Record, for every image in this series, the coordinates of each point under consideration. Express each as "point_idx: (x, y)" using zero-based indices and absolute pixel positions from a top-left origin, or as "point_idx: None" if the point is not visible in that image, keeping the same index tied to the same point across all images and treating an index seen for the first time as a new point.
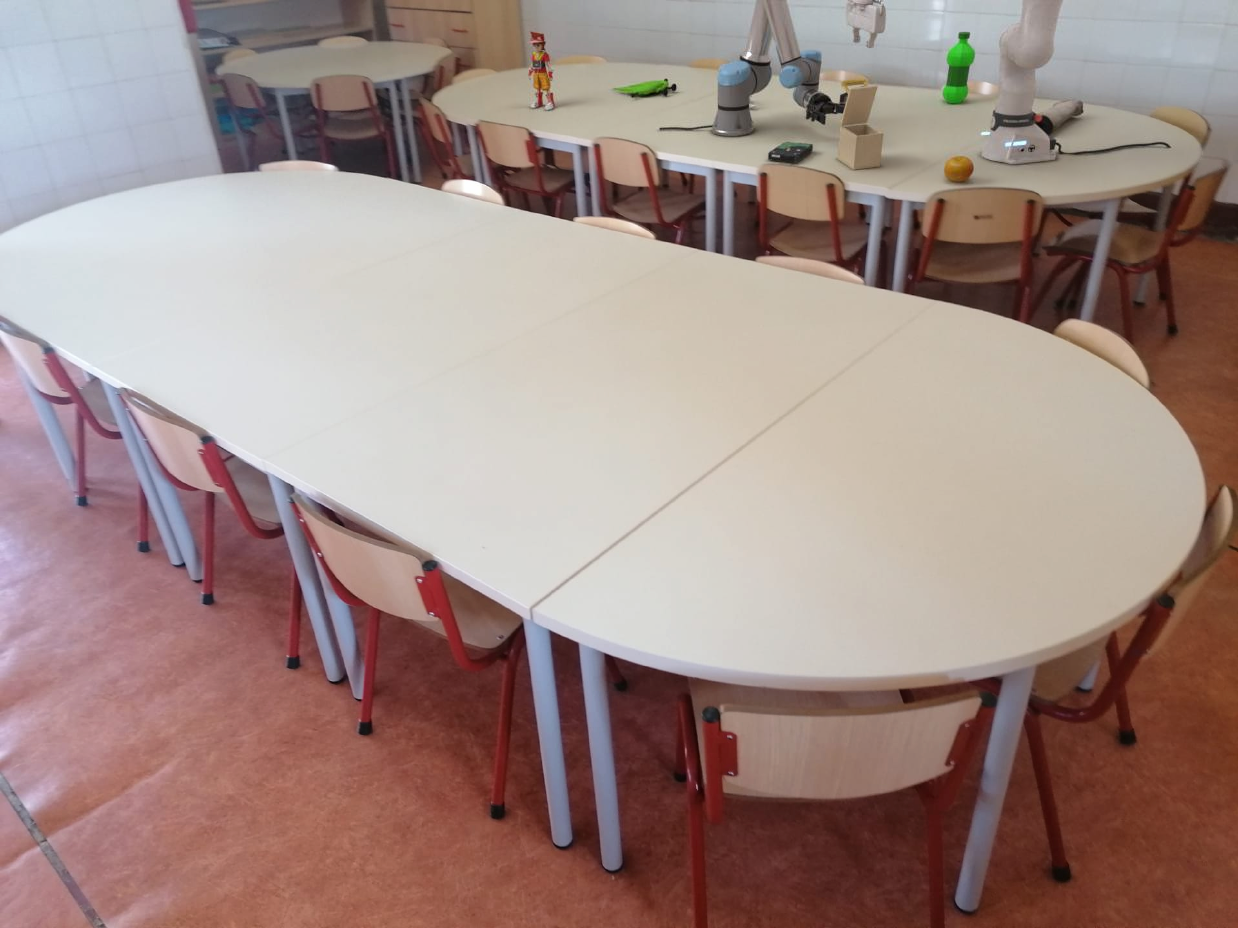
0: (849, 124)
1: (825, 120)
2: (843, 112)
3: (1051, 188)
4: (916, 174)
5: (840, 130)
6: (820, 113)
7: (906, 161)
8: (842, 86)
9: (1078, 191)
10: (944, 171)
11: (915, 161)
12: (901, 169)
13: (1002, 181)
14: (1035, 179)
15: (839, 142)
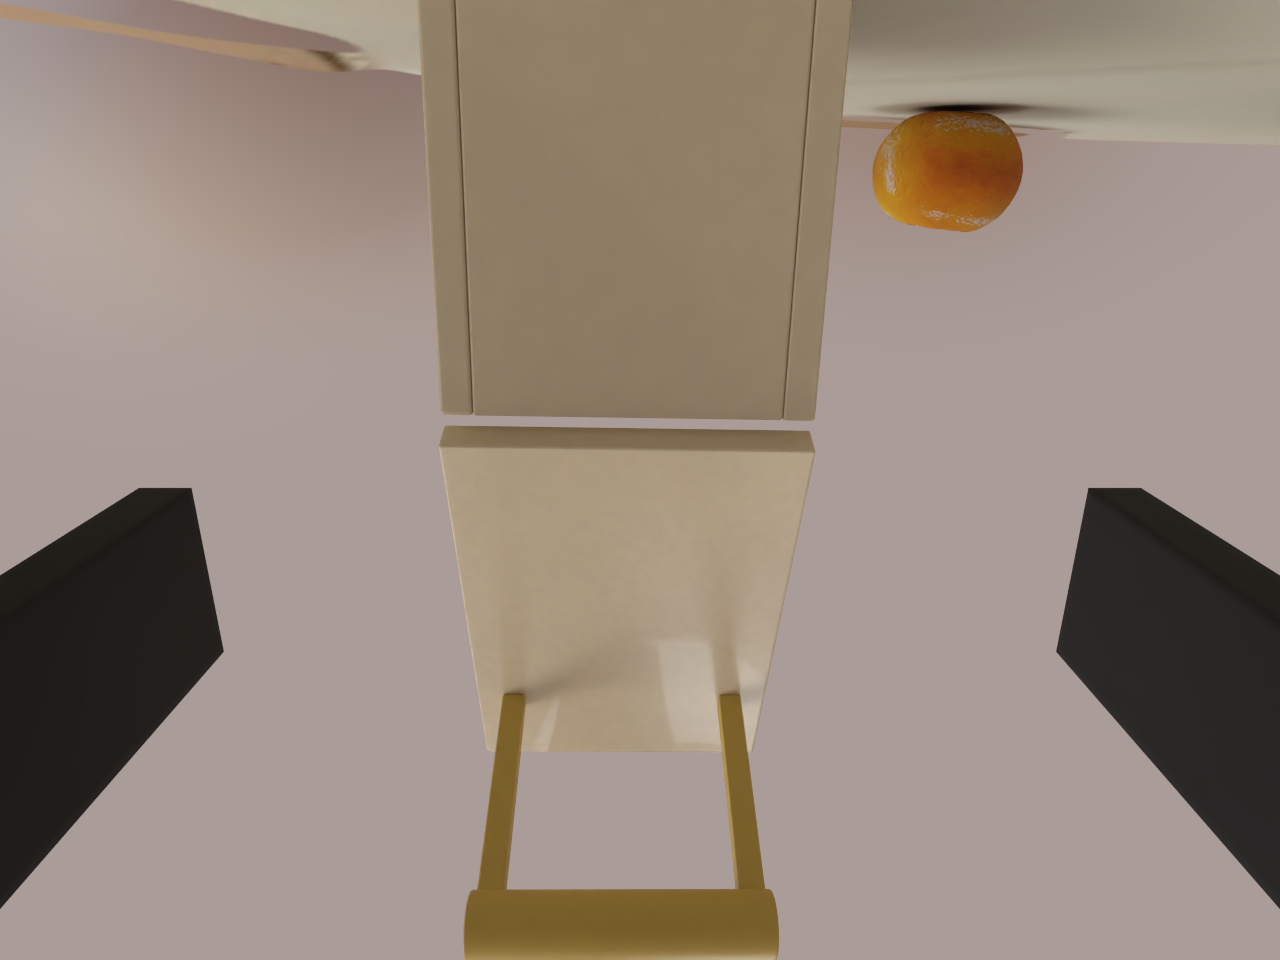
0: (561, 436)
1: (205, 577)
2: (460, 575)
3: (1148, 135)
4: (867, 83)
5: (439, 370)
6: (32, 844)
7: (1086, 33)
8: (472, 895)
9: (1175, 140)
10: (882, 163)
11: (1146, 41)
12: (864, 62)
13: (1106, 120)
14: (1234, 126)
15: (430, 202)
